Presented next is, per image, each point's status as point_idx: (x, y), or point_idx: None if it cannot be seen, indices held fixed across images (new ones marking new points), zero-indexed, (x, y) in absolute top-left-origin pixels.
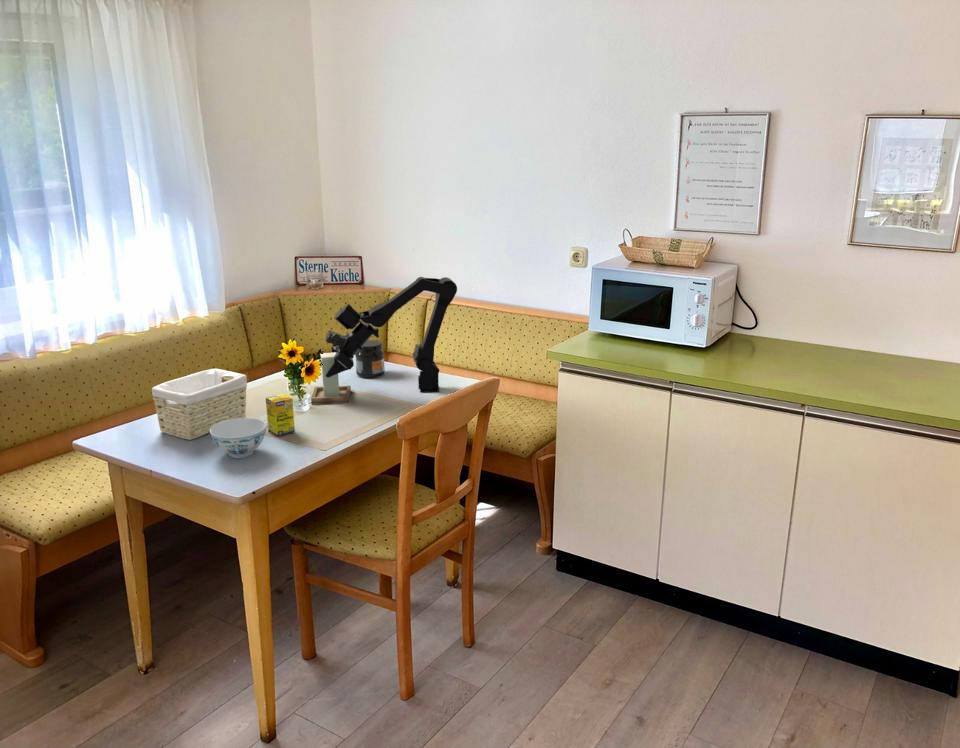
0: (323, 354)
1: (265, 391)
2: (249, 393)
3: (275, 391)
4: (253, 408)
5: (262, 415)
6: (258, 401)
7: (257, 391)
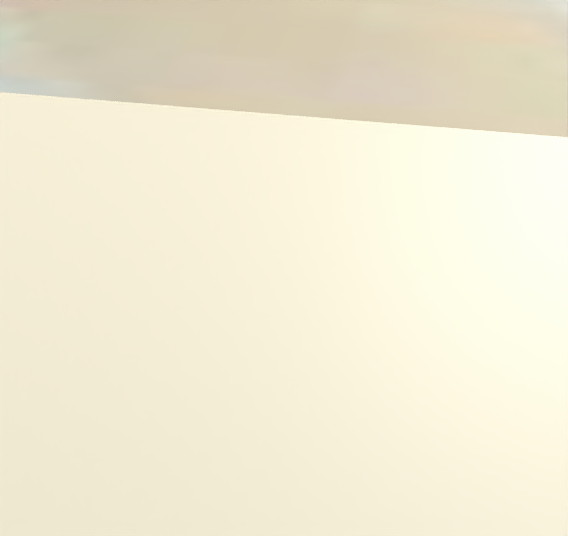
0: (432, 236)
1: (522, 83)
2: (489, 15)
3: (517, 132)
4: (193, 9)
5: (31, 34)
6: (320, 38)
7: (526, 49)
